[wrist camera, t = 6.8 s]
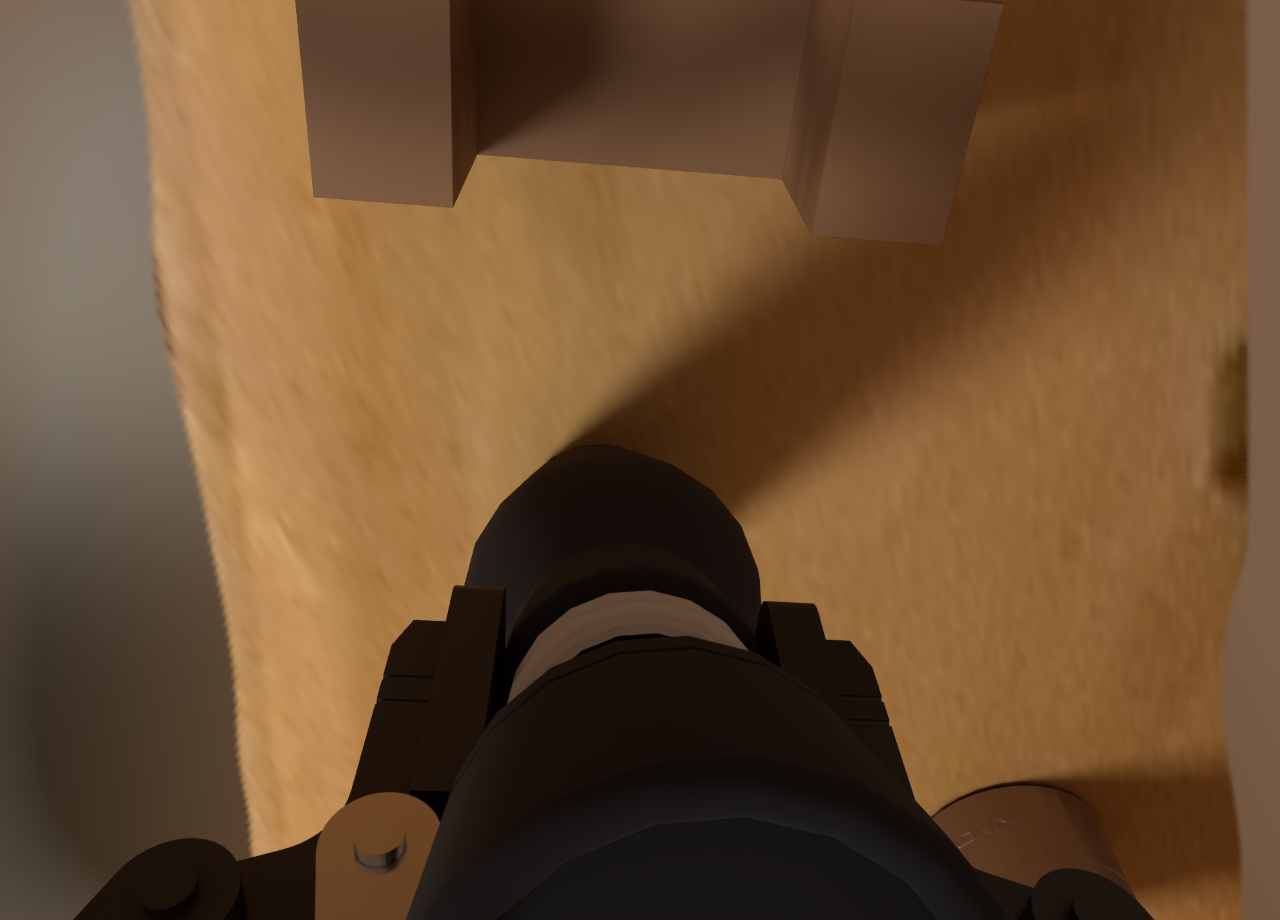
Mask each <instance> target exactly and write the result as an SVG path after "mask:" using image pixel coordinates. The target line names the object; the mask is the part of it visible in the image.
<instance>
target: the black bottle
mask: <svg viewBox="0 0 1280 920" xmlns="http://www.w3.org/2000/svg"><path fill="white" fill-rule="evenodd" d="M464 586H480V587H500V588H506V640H505V654H504V657H503V661H502V665H501V669H500V673H499V677H498V685H497V699H496V714H495V715H494V717H493V719H492V720H491V722H490V723H489V725H488V726H487V728H486V730H485V731H484V733H483V734H482V736H481V737H480V739H479V741H478V742H477V744H476V745H475V747H474V748H473V750H472V752H471V753H470V755H469V756H468V758H467V759H466V761H465V762H464V764H463V766H462V767H461V769H460V770H459V772H458V774H457V776H456V779H455V782H454V785H453V788H452V791H451V794H450V796H449V799H448V802H447V805H446V807H445V810H444V813H443V816H442V819H441V822H440V824H439V827H438V830H437V833H436V836H435V839H434V841H433V844H432V847H431V850H430V853H429V856H428V858H427V861H426V864H425V867H424V870H423V873H422V875H421V878H420V881H419V884H418V887H417V889H416V892H415V895H414V898H413V901H412V904H411V906H410V909H409V912H408V915H407V918H406V920H1015V919H1014V917H1013V915H1012V914H1011V913H1010V911H1009V910H1008V909H1007V908H1006V906H1005V905H1004V904H1003V903H1002V902H1001V900H1000V899H999V898H998V897H997V896H996V894H995V893H994V892H993V891H992V889H991V888H990V887H989V886H988V885H987V883H986V882H985V881H984V880H983V878H982V877H981V876H980V875H979V874H978V872H977V871H976V870H975V869H974V867H973V866H972V865H971V864H970V863H969V861H968V860H967V859H966V858H965V857H964V855H963V854H962V853H961V852H960V850H959V849H958V848H957V847H956V846H955V844H954V843H953V842H952V841H951V839H950V838H949V837H948V836H947V835H946V833H945V832H944V831H943V830H942V829H941V828H940V827H939V826H938V825H937V824H936V822H935V821H934V820H933V819H932V818H931V817H930V816H929V815H928V814H927V813H926V812H925V810H924V809H923V808H922V807H921V806H920V805H919V804H918V803H917V802H916V801H915V799H914V798H913V797H912V796H911V795H910V794H909V793H908V792H907V791H906V790H905V789H904V787H903V786H902V785H901V784H900V783H899V782H898V781H897V780H896V779H895V778H894V776H893V775H892V774H891V773H890V772H889V771H888V770H887V769H886V768H885V767H884V766H883V764H882V763H881V762H880V761H879V760H878V759H877V758H876V757H875V756H874V755H873V753H872V752H871V751H870V750H869V749H868V748H867V747H866V746H865V745H864V744H863V743H862V741H861V740H860V739H859V738H858V737H857V736H856V735H855V734H854V733H853V732H852V730H851V729H850V728H849V727H848V726H847V725H846V724H845V723H844V722H843V721H842V719H841V718H840V717H839V716H838V715H837V714H836V713H835V712H834V711H833V710H832V709H831V707H830V706H829V705H828V704H827V703H826V702H825V701H824V700H823V699H822V698H821V696H820V695H819V694H818V693H817V692H816V691H815V690H814V689H813V688H811V687H810V686H808V685H807V684H805V683H803V682H802V681H800V680H799V679H797V678H796V677H794V676H792V675H791V674H789V673H788V672H786V671H784V670H783V669H781V668H780V667H778V666H776V665H775V664H773V663H772V662H770V661H769V660H767V659H765V658H764V657H763V656H762V653H761V651H760V648H759V646H758V643H757V640H756V638H755V631H756V626H757V621H758V616H759V611H760V607H761V592H760V578H759V573H758V568H757V566H756V563H755V560H754V558H753V555H752V553H751V550H750V548H749V545H748V542H747V540H746V537H745V535H744V532H743V529H742V527H741V525H740V524H739V523H738V521H737V520H736V519H735V518H734V517H733V515H732V514H731V513H730V512H729V510H728V509H727V508H726V507H725V506H724V504H723V503H722V502H721V501H720V499H719V498H718V497H717V496H716V495H715V493H714V492H713V491H712V490H711V489H709V488H708V487H706V486H705V485H703V484H701V483H700V482H698V481H697V480H695V479H694V478H692V477H690V476H689V475H687V474H686V473H684V472H683V471H681V470H680V469H678V468H676V467H675V466H673V465H671V464H668V463H665V462H662V461H660V460H657V459H654V458H651V457H649V456H646V455H643V454H640V453H637V452H635V451H631V450H627V449H623V448H619V447H615V446H612V445H592V446H579V447H577V448H574V449H572V450H569V451H567V452H564V453H561V454H559V455H556V456H554V457H553V458H552V459H550V460H549V461H548V462H547V463H545V464H544V465H543V466H542V467H541V468H539V469H538V470H537V471H536V472H534V473H533V474H532V475H531V476H530V477H529V478H528V479H527V480H526V481H525V482H523V483H522V484H521V485H520V486H519V487H518V488H517V489H516V490H515V491H514V492H513V493H512V494H511V495H509V496H508V497H507V498H506V499H505V500H504V501H503V502H502V503H501V504H500V506H499V507H498V509H497V510H496V512H495V513H494V515H493V516H492V518H491V520H490V521H489V523H488V524H487V526H486V527H485V529H484V531H483V532H482V534H481V535H480V537H479V538H478V540H477V541H476V543H475V546H474V550H473V554H472V558H471V562H470V566H469V570H468V573H467V577H466V581H465V585H464Z"/></svg>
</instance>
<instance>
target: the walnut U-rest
mask: <svg viewBox="0 0 1280 920" xmlns="http://www.w3.org/2000/svg"><path fill="white" fill-rule="evenodd" d="M295 2H296V13H297V23H298V34H299V45H300V56H301V66H302V77H303V88H304V99H305V109H306V120H307V131H308V142H309V153H310V163H311V174H312V185H313V196H314V197H318V198H331V199H344V200H357V201H370V202H383V203H396V204H409V205H422V206H435V207H448V208H453V206H454V204H455V202H456V200H457V198H458V195H459V193H460V191H461V189H462V187H463V184H464V182H465V180H466V178H467V176H468V174H469V171H470V169H471V167H472V165H473V163H474V160H475V158H476V156H477V154H478V155H490V156H503V157H515V158H528V159H540V160H552V161H565V162H577V163H590V164H602V165H614V166H627V167H639V168H651V169H664V170H676V171H689V172H701V173H713V174H726V175H738V176H751V177H763V178H775V179H782V181H783V182H784V184H785V186H786V188H787V190H788V192H789V194H790V196H791V198H792V199H793V201H794V203H795V205H796V207H797V209H798V211H799V213H800V215H801V217H802V218H803V220H804V222H805V224H806V226H807V228H808V230H809V232H810V234H811V235H812V236H825V237H838V238H851V239H864V240H877V241H890V242H903V243H916V244H929V245H942V242H943V238H944V234H945V230H946V226H947V223H948V219H949V215H950V211H951V207H952V203H953V200H954V196H955V192H956V188H957V184H958V180H959V177H960V173H961V169H962V165H963V161H964V157H965V153H966V150H967V146H968V142H969V138H970V134H971V130H972V127H973V123H974V119H975V115H976V111H977V107H978V104H979V100H980V96H981V92H982V88H983V84H984V81H985V77H986V73H987V69H988V65H989V61H990V57H991V54H992V50H993V46H994V42H995V38H996V34H997V31H998V27H999V23H1000V19H1001V15H1002V11H1003V8H1004V4H1002V3H999V2H996V1H994V0H295Z"/></svg>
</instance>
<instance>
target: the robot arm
mask: <svg viewBox="0 0 1280 920" xmlns="http://www.w3.org/2000/svg"><path fill="white" fill-rule="evenodd" d="M755 638H756V640H757V643H758V646H759V648H760V651H761V653H762V656H763V657H764V658H765V659H767V660H769V661H770V662H772V663H773V664H775V665H776V666H778V667H780V668H781V669H783V670H784V671H786V672H788V673H789V674H791V675H792V676H794V677H796V678H797V679H799V680H800V681H802V682H803V683H805V684H807V685H808V686H810V687H811V688H813V689H814V690H815V691H816V692H817V693H818V694H819V695H820V696H821V698H822V699H823V700H824V701H825V702H826V703H827V704H828V705H829V706H830V707H831V709H832V710H833V711H834V712H835V713H836V714H837V715H838V716H839V717H840V718H841V719H842V721H843V722H844V723H845V724H846V725H847V726H848V727H849V728H850V729H851V730H852V732H853V733H854V734H855V735H856V736H857V737H858V738H859V739H860V740H861V741H862V743H863V744H864V745H865V746H866V747H867V748H868V749H869V750H870V751H871V752H872V753H873V755H874V756H875V757H876V758H877V759H878V760H879V761H880V762H881V763H882V764H883V766H884V767H885V768H886V769H887V770H888V771H889V772H890V773H891V774H892V775H893V776H894V778H895V779H896V780H897V781H898V782H899V783H900V784H901V785H902V786H903V787H904V789H905V790H906V791H907V792H908V793H909V794H910V795H911V796H912V797H913V798H914V795H913V792H912V789H911V786H910V782H909V779H908V776H907V773H906V770H905V767H904V764H903V761H902V758H901V755H900V751H899V748H898V745H897V742H896V739H895V736H894V733H893V730H892V727H891V726H889V717H888V714H887V711H886V708H885V705H884V702H882V701H881V697H882V696H881V693H880V690H879V686H878V683H877V680H876V677H875V674H874V671H873V668H872V666H871V665H870V664H869V663H868V662H867V660H866V659H865V658H864V657H863V656H862V655H861V653H860V652H859V651H858V650H857V649H856V647H855V646H854V645H853V644H852V643H851V642H850V641H843V640H826V639H825V635H824V631H823V628H822V624H821V620H820V617H819V613H818V610H817V608H816V606H815V604H813V603H793V602H773V601H764V602H763V603H762V605H761V607H760V611H759V616H758V621H757V626H756V631H755ZM505 640H506V588H500V587H480V586H459V585H455V586H454V588H453V591H452V596H451V600H450V605H449V610H448V614H447V619H446V621H427V620H413V621H412V623H411V624H410V625H409V626H408V627H407V628H406V629H405V630H404V632H403V633H402V634H401V635H400V636H399V637H398V638H397V640H396V641H395V642H394V643H393V644H392V646H391V649H390V653H389V656H388V660H387V664H386V667H385V671H384V676H383V680H382V682H381V685H380V689H379V692H378V696H377V703H376V704H375V707H374V710H373V714H372V718H371V721H370V725H369V728H368V732H367V735H366V739H365V743H364V746H363V750H362V753H361V757H360V761H359V764H358V768H357V771H356V775H355V779H354V782H353V786H352V789H351V793H350V795H349V798H348V801H347V802H346V804H345V806H344V807H343V808H341V809H340V810H339V811H338V812H337V813H336V814H334V815H333V816H332V817H331V819H330V820H329V821H328V822H327V824H326V825H325V827H324V828H323V830H322V831H321V832H319V833H318V834H316V835H315V836H313V837H311V838H310V839H308V840H306V841H304V842H302V843H300V844H297V845H295V846H292V847H289V848H286V849H283V850H279V851H275V852H271V853H267V854H263V855H259V856H255V857H251V858H248V859H244V860H240V861H236V859H235V858H234V857H233V855H232V854H231V853H230V852H229V851H228V850H227V849H226V848H225V847H223V846H221V845H219V844H218V843H216V842H213V841H209V840H206V839H198V838H189V839H188V838H186V839H178V840H173V841H168V842H165V843H162V844H159V845H157V846H154V847H152V848H150V849H148V850H146V851H144V852H142V853H141V854H139V855H137V856H136V857H135V858H133V859H132V860H130V861H129V862H128V863H126V864H125V865H124V866H123V867H122V868H121V869H120V870H119V871H118V872H117V873H116V874H115V875H114V876H113V877H112V878H111V879H110V880H109V882H108V883H107V884H106V885H105V886H104V887H103V888H102V889H101V890H100V891H99V892H98V893H97V895H95V897H94V898H93V899H92V900H91V901H90V902H89V903H88V904H87V905H86V906H85V907H84V908H83V910H82V911H81V912H80V913H79V914H78V915H77V916H76V917H75V918H74V919H73V920H406V918H407V915H408V912H409V909H410V906H411V904H412V901H413V898H414V895H415V892H416V889H417V887H418V884H419V881H420V878H421V875H422V873H423V870H424V867H425V864H426V861H427V858H428V856H429V853H430V850H431V847H432V844H433V841H434V839H435V836H436V833H437V830H438V827H439V824H440V822H441V819H442V816H443V813H444V810H445V807H446V805H447V802H448V799H449V796H450V794H451V791H452V788H453V785H454V782H455V779H456V776H457V774H458V772H459V770H460V769H461V767H462V766H463V764H464V762H465V761H466V759H467V758H468V756H469V755H470V753H471V752H472V750H473V748H474V747H475V745H476V744H477V742H478V741H479V739H480V737H481V736H482V734H483V733H484V731H485V730H486V728H487V726H488V725H489V723H490V722H491V720H492V719H493V717H494V715H495V714H496V699H497V685H498V677H499V673H500V669H501V665H502V661H503V657H504V654H505ZM914 799H915V798H914ZM932 819H933V820H934V821H935V822H936V824H937V825H938V826H939V827H940V828H941V829H942V830H943V831H944V832H945V833H946V835H947V836H948V837H949V838H950V839H951V841H952V842H953V843H954V844H955V846H956V847H957V848H958V849H959V850H960V852H961V853H962V854H963V855H964V857H965V858H966V859H967V860H968V861H969V863H970V864H971V865H972V866H973V867H974V869H975V870H976V871H977V872H978V874H979V875H980V876H981V877H982V878H983V880H984V881H985V882H986V883H987V885H988V886H989V887H990V888H991V889H992V891H993V892H994V893H995V894H996V896H997V897H998V898H999V899H1000V900H1001V902H1002V903H1003V904H1004V905H1005V906H1006V908H1007V909H1008V910H1009V911H1010V913H1011V914H1012V915H1013V917H1014V919H1015V920H1154V919H1153V918H1152V917H1151V916H1150V914H1149V913H1148V912H1147V911H1146V910H1145V909H1144V908H1143V907H1142V905H1141V904H1140V903H1139V902H1138V901H1137V899H1136V897H1135V895H1134V893H1133V890H1132V888H1131V886H1130V884H1129V882H1128V880H1127V878H1126V876H1125V874H1124V872H1123V870H1122V868H1121V866H1120V864H1119V862H1118V860H1117V858H1116V857H1115V855H1114V853H1113V851H1112V849H1111V847H1110V845H1109V843H1108V841H1107V839H1106V837H1105V835H1104V833H1103V831H1102V829H1101V827H1100V825H1099V823H1098V821H1097V819H1096V817H1095V815H1094V813H1093V812H1092V811H1091V809H1090V808H1089V807H1088V806H1087V805H1086V804H1085V803H1084V802H1083V801H1081V800H1080V799H1078V798H1076V797H1075V796H1073V795H1072V794H1069V793H1066V792H1063V791H1060V790H1058V789H1054V788H1047V787H1041V786H1011V787H1003V788H996V789H992V790H988V791H984V792H981V793H977V794H974V795H972V796H969V797H967V798H965V799H962V800H960V801H957V802H955V803H954V804H952V805H950V806H949V807H947V808H945V809H944V810H942V811H940V812H939V813H938V814H937V815H936V816H934V817H933V818H932Z"/></svg>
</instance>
